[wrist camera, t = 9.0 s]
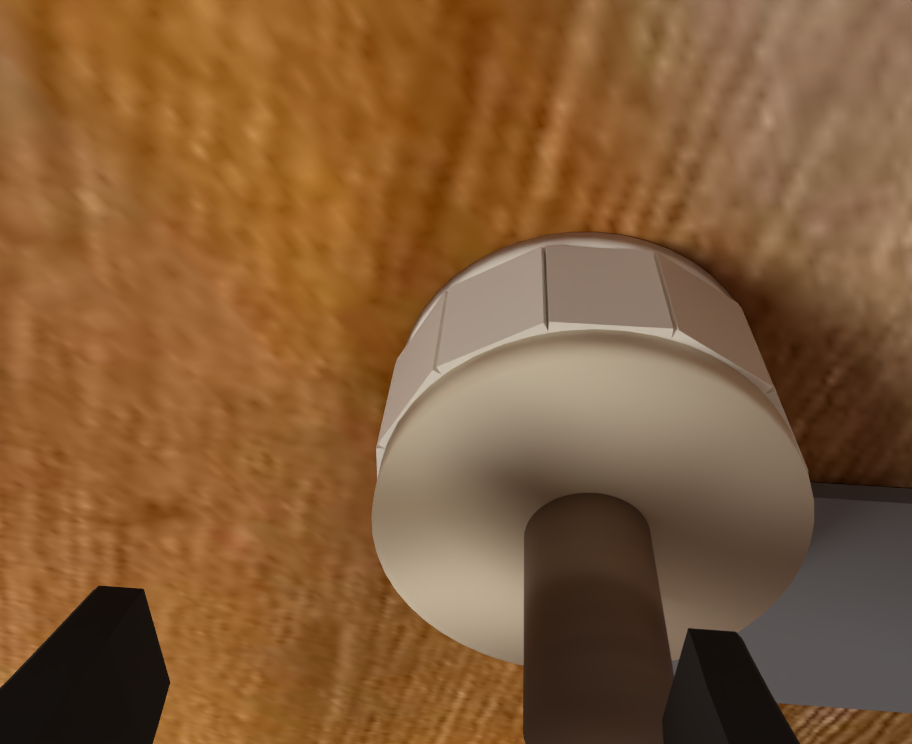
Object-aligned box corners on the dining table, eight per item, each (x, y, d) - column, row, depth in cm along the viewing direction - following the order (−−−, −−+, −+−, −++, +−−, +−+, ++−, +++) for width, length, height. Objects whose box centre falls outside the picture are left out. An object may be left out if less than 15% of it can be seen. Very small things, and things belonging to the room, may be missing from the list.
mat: (919, 697, 27) (927, 714, 27) (643, 676, 28) (646, 692, 27) (1035, 496, 22) (1046, 512, 22) (694, 474, 23) (698, 489, 22)
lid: (762, 642, 20) (828, 879, 16) (396, 632, 21) (362, 855, 17) (843, 328, 15) (973, 549, 11) (356, 329, 16) (291, 536, 12)
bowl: (717, 529, 24) (747, 647, 20) (402, 508, 24) (383, 621, 21) (799, 242, 19) (857, 339, 15) (397, 221, 19) (371, 311, 16)
